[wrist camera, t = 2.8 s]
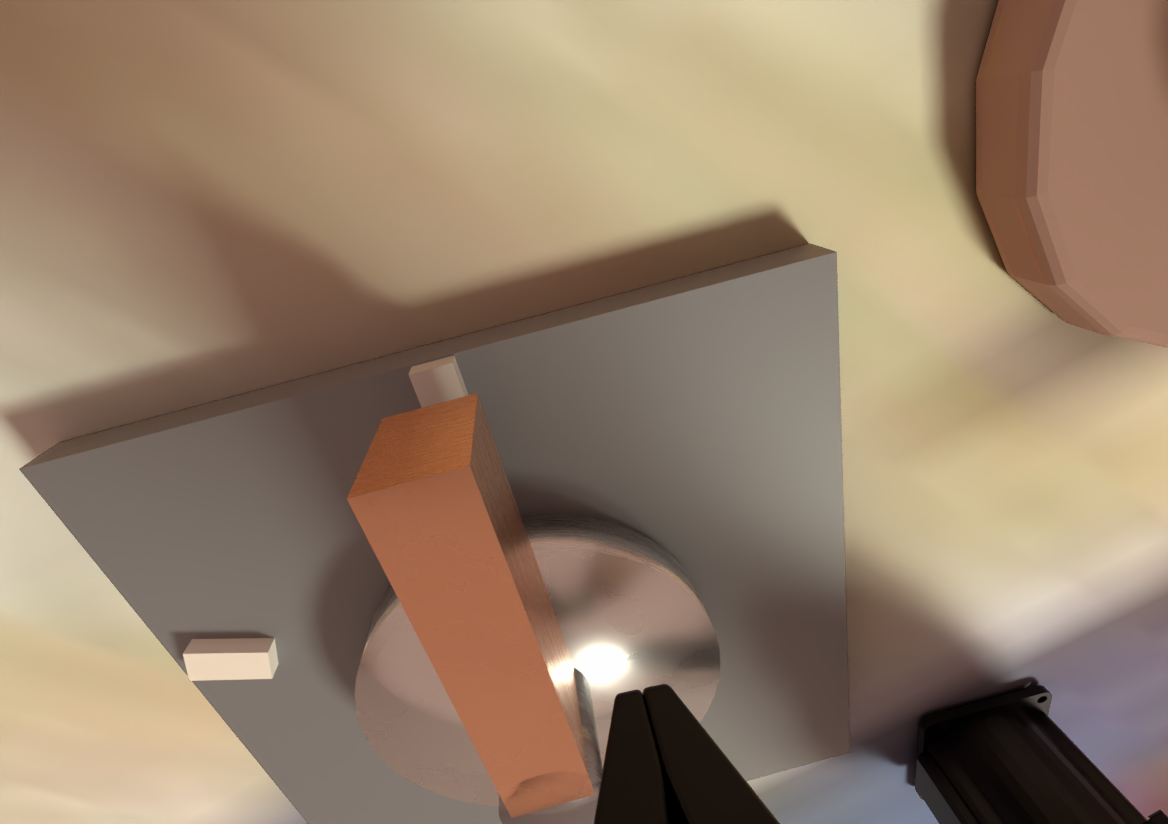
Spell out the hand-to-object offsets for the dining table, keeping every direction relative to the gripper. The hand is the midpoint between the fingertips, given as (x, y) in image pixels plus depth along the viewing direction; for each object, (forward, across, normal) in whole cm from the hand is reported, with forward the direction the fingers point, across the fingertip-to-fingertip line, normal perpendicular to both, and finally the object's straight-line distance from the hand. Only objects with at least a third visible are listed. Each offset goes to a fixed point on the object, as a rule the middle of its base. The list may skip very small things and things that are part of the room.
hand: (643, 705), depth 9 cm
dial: (+9, +3, +6) cm, 11 cm away
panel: (+11, +2, +8) cm, 14 cm away
